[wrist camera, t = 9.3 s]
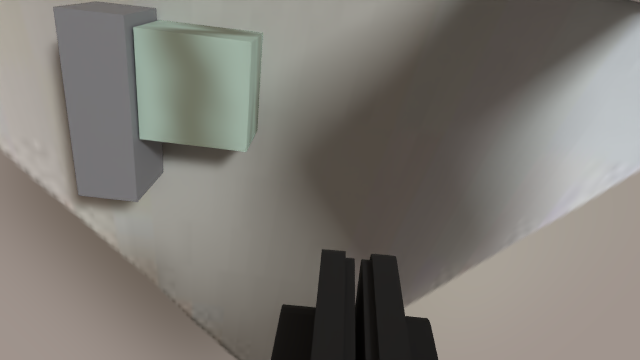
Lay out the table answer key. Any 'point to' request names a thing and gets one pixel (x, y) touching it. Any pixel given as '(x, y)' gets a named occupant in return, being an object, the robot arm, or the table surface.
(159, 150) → the gray rectangular block
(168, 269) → the table surface
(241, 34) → the sage block
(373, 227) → the table surface
